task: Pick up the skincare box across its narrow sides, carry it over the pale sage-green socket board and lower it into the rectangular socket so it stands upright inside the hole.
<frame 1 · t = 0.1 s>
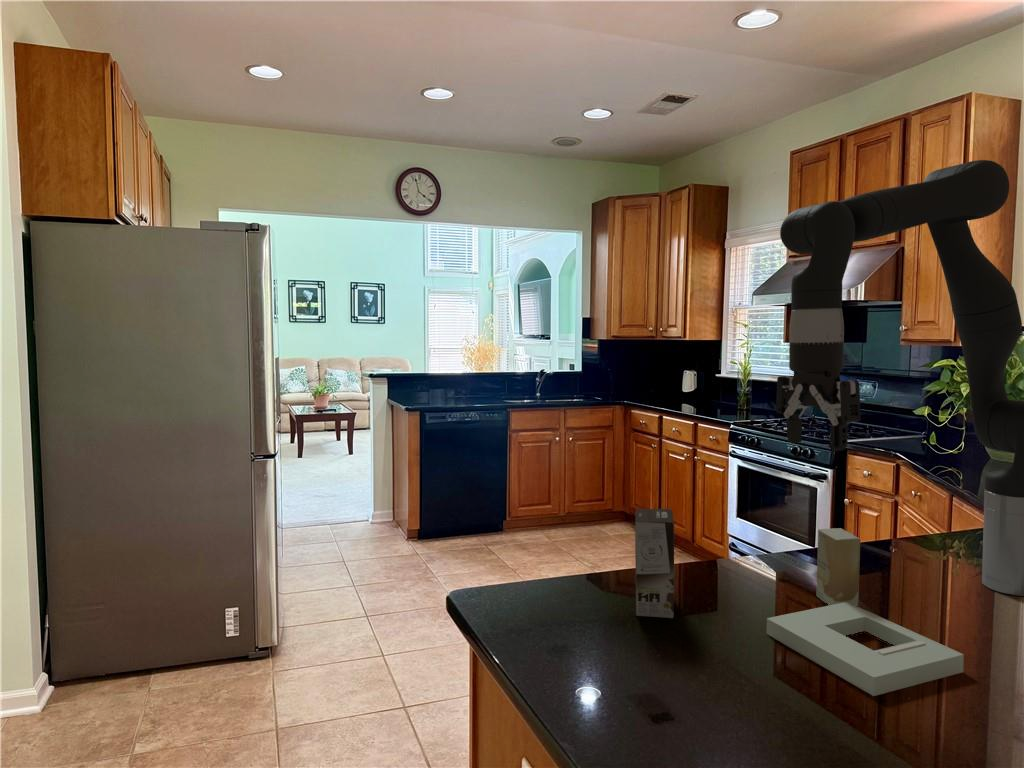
hand: (815, 446, 107), 29 cm above the counter, fingers open, 8 cm apart
socket board: (858, 651, 102), on the counter
coffee box: (655, 608, 120), on the counter
skincare box: (837, 604, 120), on the counter
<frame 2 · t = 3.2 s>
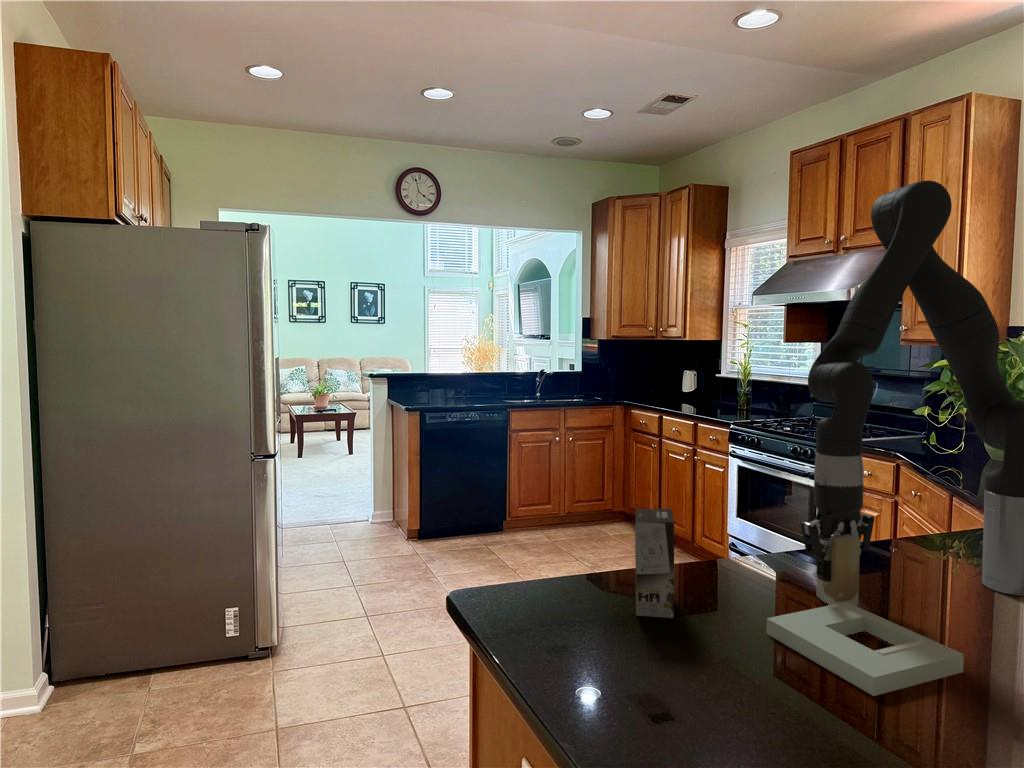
hand: (837, 577, 120), 4 cm above the counter, fingers closed on skincare box, 5 cm apart
skincare box: (837, 604, 120), on the counter, touching gripper
everything else where it was.
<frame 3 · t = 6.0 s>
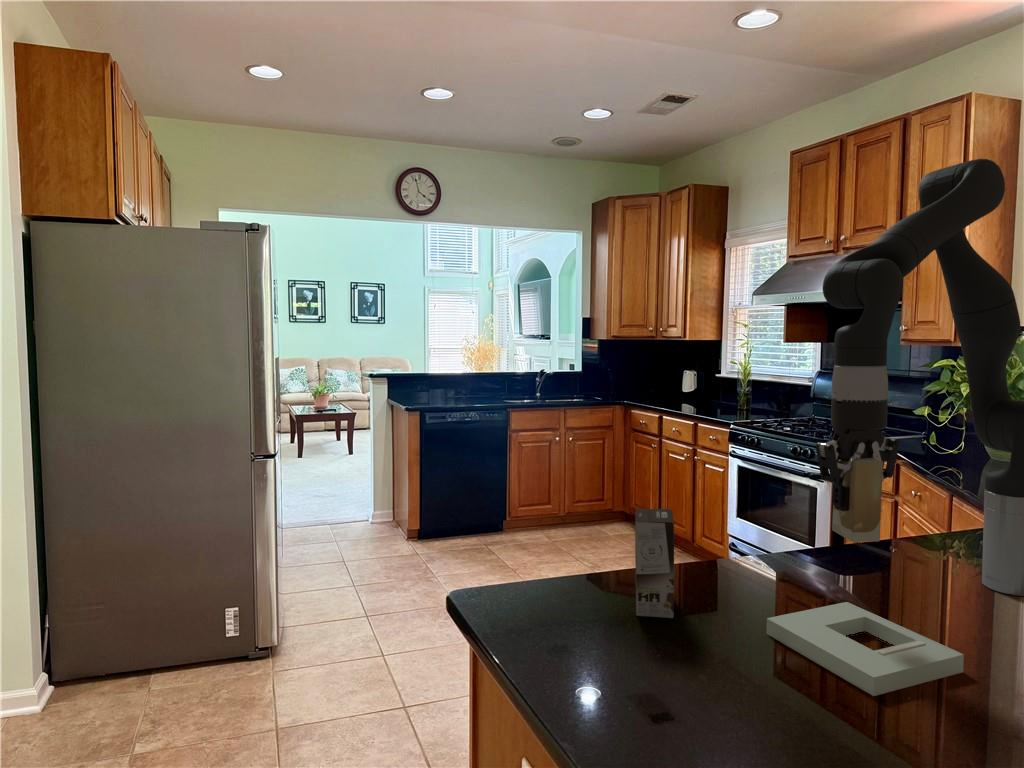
hand: (856, 507, 106), 20 cm above the counter, fingers closed on skincare box, 5 cm apart
skincare box: (855, 537, 106), point 15 cm above the counter, touching gripper
everything else where it was.
when the fingers open (5 cm above the counter, at t = 9.0 s): skincare box stays where it is, resting in socket board.
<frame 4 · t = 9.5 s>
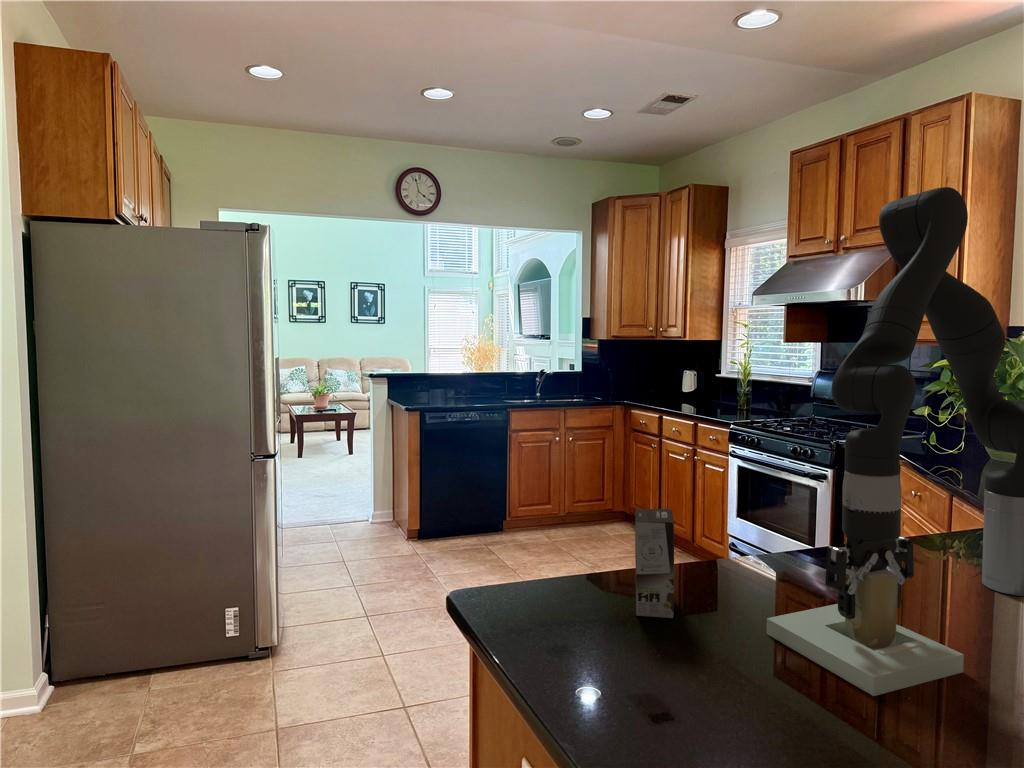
hand: (869, 612, 102), 6 cm above the counter, fingers open, 8 cm apart
skincare box: (869, 650, 103), resting in socket board
everything else where it was.
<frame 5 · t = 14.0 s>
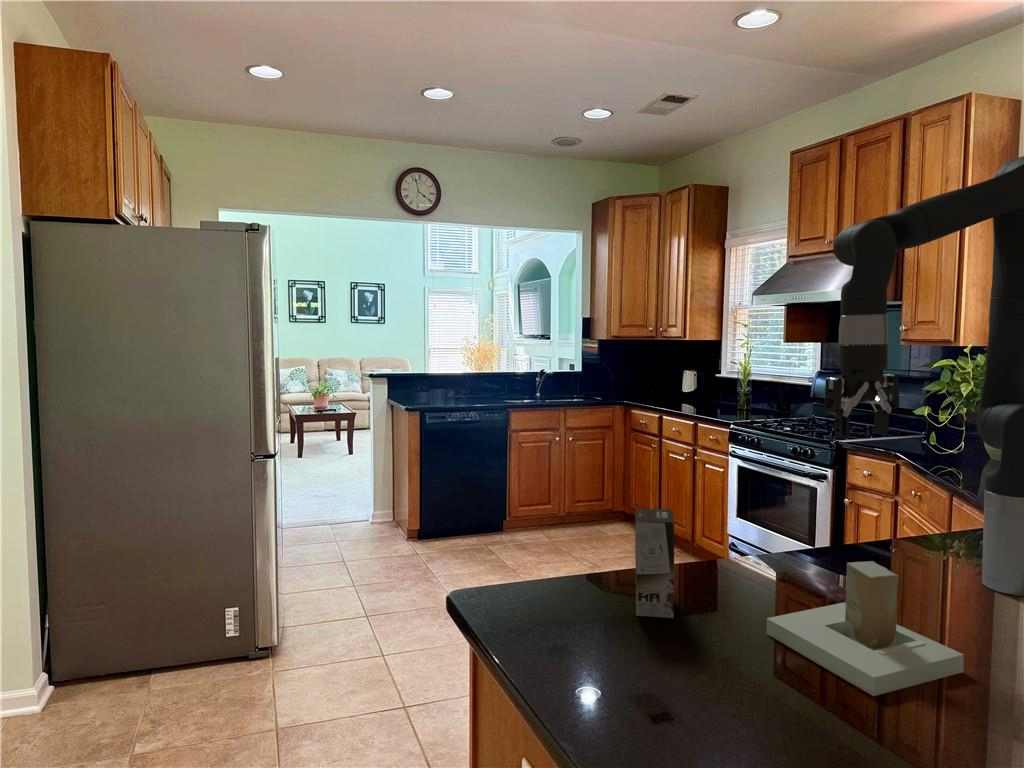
hand: (861, 436, 121), 28 cm above the counter, fingers open, 8 cm apart
nothing on the counter moved.
at the end: skincare box 0.2 cm from the target spot on the socket board, point 0.0 cm above the socket board's base; skincare box tilted 0°; the gripper is holding nothing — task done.
